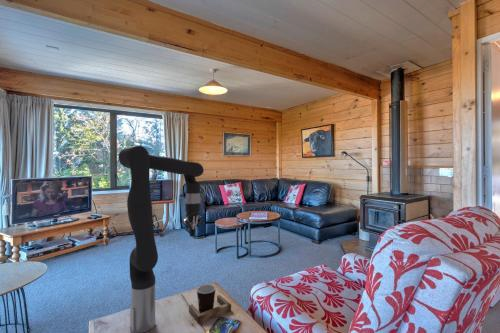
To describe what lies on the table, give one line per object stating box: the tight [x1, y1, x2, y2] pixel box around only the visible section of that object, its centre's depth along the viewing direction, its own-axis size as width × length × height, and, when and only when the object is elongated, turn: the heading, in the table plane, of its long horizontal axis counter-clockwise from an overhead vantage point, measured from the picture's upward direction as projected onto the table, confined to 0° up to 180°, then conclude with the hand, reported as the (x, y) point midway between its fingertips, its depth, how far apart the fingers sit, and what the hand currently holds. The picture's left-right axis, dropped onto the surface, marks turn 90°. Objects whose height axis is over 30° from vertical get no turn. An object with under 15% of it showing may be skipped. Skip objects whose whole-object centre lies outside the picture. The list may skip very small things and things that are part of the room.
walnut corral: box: [188, 294, 232, 324], centre depth 114 cm, size 16×11×3 cm
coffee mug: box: [196, 284, 217, 313], centre depth 116 cm, size 12×9×10 cm
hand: (192, 236), depth 125 cm, fingers closed
